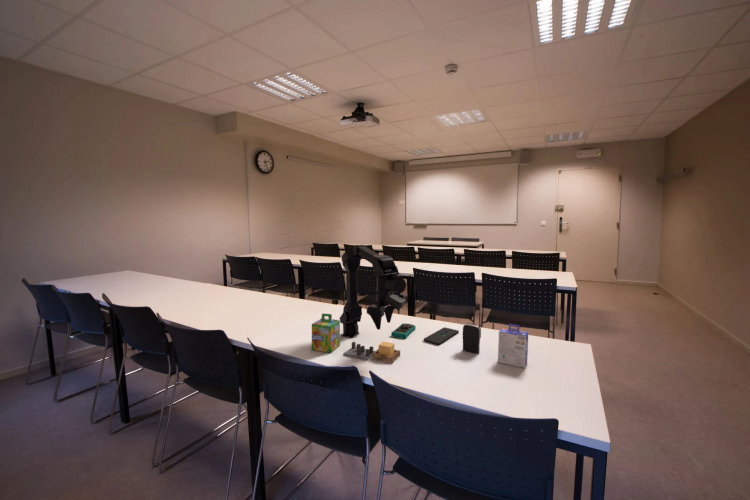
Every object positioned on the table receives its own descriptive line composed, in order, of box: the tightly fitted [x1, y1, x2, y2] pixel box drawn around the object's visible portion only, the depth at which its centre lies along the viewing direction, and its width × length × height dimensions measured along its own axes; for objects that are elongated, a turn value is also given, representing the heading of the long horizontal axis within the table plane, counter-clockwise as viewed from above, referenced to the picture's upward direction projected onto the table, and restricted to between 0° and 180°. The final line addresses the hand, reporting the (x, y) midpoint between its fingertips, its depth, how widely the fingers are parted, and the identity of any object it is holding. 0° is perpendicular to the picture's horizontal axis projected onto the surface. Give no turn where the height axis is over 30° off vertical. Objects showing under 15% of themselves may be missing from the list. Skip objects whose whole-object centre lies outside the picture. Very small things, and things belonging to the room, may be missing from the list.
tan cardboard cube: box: [378, 341, 395, 357], centre depth 129 cm, size 5×4×5 cm
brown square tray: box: [371, 348, 401, 364], centre depth 129 cm, size 9×8×2 cm
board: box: [342, 341, 376, 362], centre depth 132 cm, size 11×8×3 cm
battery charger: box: [462, 322, 482, 355], centre depth 134 cm, size 7×4×11 cm, turn 58°
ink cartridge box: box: [497, 323, 529, 369], centre depth 123 cm, size 10×6×14 cm, turn 58°
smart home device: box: [423, 327, 460, 346], centre depth 151 cm, size 8×2×20 cm
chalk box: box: [311, 313, 341, 354], centre depth 138 cm, size 9×9×15 cm
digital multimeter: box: [391, 323, 416, 340], centre depth 156 cm, size 7×15×3 cm, turn 154°
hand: (383, 325), depth 131 cm, fingers open, 9 cm apart
